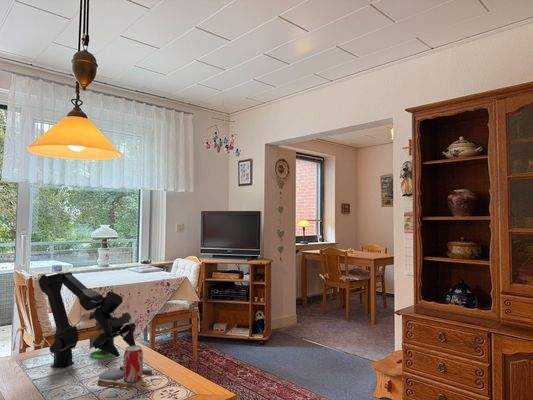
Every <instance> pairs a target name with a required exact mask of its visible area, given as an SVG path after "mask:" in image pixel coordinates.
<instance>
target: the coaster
mask: <svg viewBox="0 0 533 400" xmlns="http://www.w3.org/2000/svg"><path fill="white" fill-rule="evenodd" d="M122 377H123V370H120V368H119V369H110V370H106V371H103V372H102V373H100V374H99V375H98V380H99V379H105V380H114V381H117V380H116V379H119V380H120V378H121V379H123V378H122Z"/></svg>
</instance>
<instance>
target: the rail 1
mask: <svg viewBox="0 0 533 400" xmlns="http://www.w3.org/2000/svg"><path fill="white" fill-rule="evenodd" d="M133 383H134V382H127V381H118V380H114V381H112V380H105V379H99V378H98V380H97V385H99V384H104V385H103V386H106V385H113V386H119V387H118V388H120V387H126V388H125V389H127V388H131V389H133V388H132V387H134V384H133ZM113 386H112V387H113Z"/></svg>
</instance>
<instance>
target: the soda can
mask: <svg viewBox="0 0 533 400" xmlns="http://www.w3.org/2000/svg"><path fill="white" fill-rule="evenodd" d="M143 351H144V350H143V349H142V346H141V345H135V346H129V345H128V346H126V348H125V350H124V353H123V365H122V366H123V378H122V379H123V380H124V382H126V383H136V382H138V381H139V380H141V379H142V378H143V373H142V371H143V368H144V367H143V366H144V352H143ZM135 381H136V382H135Z"/></svg>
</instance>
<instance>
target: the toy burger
mask: <svg viewBox="0 0 533 400" xmlns="http://www.w3.org/2000/svg"><path fill="white" fill-rule="evenodd" d="M94 327H95V331H99V328H100V326H99V325H98V323H97V322H96V321H95V326H94ZM99 332H101V333H96V334H92V335H91V336H90V337H89V347H88V349H89V350H91V349H93V348H94V346H93V341H94V340H95V339H96V338H97V337H98V336H99V335H100V334H102V333H103V331H102V330H101V331H99ZM113 344H114V345H115V337H114V338H113ZM113 356H114V355H112V354H110V353H108V352H106V351H103V350H101V349H100V350H99V349H96V350H94V351H92V352H91V353H90V358H92V359H98V360H99V359H105V358H111V357H113Z"/></svg>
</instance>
